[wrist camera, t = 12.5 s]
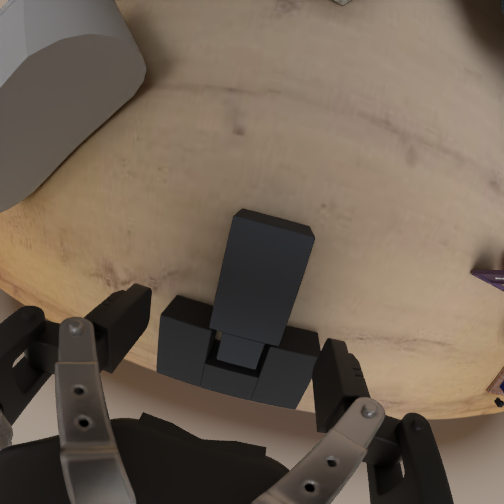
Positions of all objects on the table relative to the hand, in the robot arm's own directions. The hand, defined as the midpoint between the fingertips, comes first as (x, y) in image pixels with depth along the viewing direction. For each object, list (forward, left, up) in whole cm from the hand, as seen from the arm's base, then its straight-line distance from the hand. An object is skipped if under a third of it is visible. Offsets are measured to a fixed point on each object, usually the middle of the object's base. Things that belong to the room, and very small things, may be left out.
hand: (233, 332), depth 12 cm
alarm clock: (-22, -1, -10) cm, 24 cm away
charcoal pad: (+1, -1, -9) cm, 10 cm away
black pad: (+4, -6, -9) cm, 12 cm away
